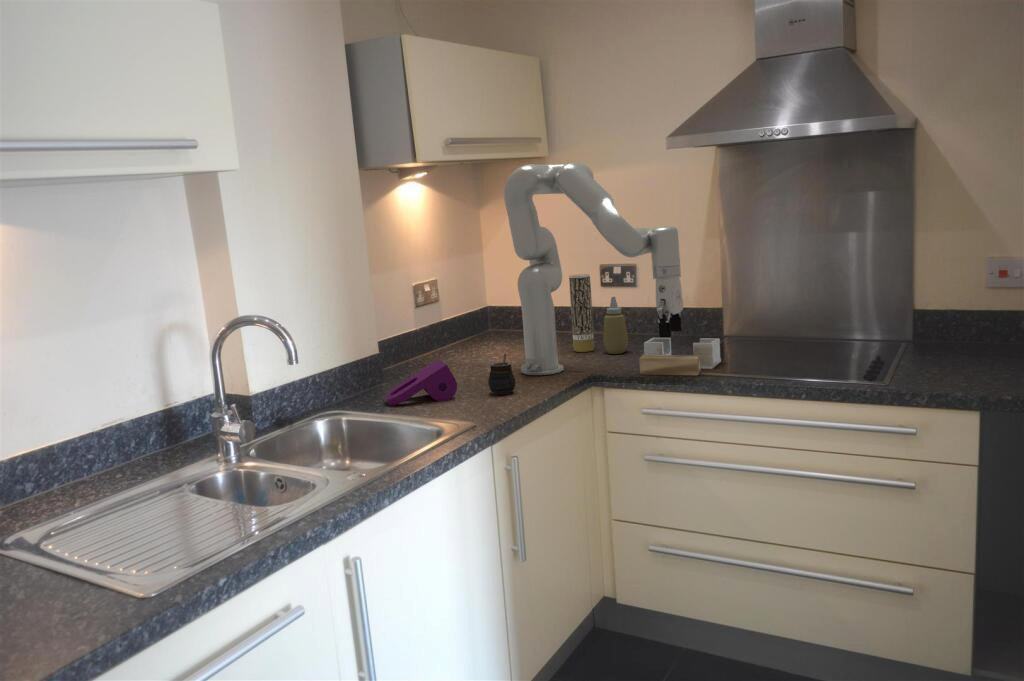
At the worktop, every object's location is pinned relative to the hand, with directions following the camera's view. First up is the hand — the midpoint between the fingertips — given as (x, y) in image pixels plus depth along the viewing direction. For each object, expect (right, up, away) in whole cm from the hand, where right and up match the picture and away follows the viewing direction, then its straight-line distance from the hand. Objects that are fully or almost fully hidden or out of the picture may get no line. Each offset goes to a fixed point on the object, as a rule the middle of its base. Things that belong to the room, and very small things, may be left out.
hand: (670, 334), depth 233 cm
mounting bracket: (-68, -18, -8) cm, 71 cm away
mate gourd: (-46, -16, -7) cm, 49 cm away
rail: (0, -11, +2) cm, 11 cm away
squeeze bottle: (-10, -6, +38) cm, 39 cm away
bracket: (+6, -9, +13) cm, 16 cm away
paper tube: (-20, -5, +45) cm, 50 cm away
